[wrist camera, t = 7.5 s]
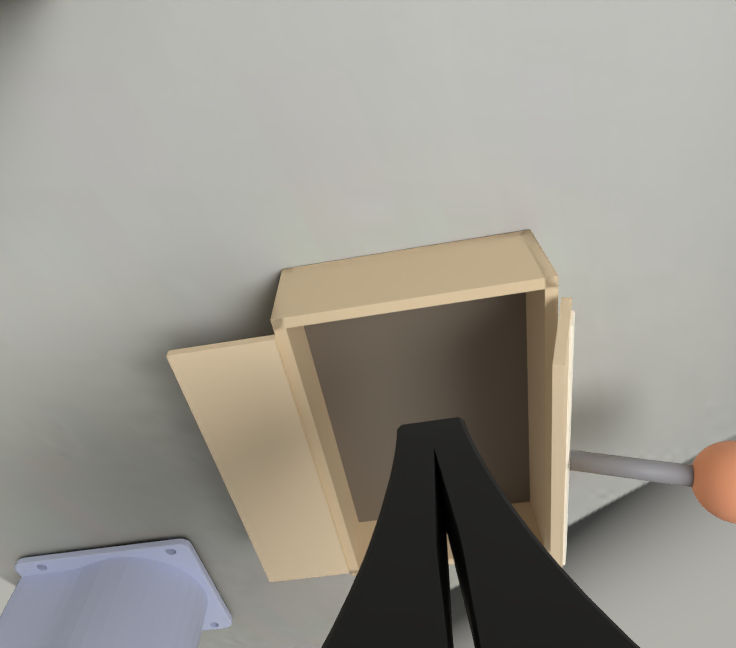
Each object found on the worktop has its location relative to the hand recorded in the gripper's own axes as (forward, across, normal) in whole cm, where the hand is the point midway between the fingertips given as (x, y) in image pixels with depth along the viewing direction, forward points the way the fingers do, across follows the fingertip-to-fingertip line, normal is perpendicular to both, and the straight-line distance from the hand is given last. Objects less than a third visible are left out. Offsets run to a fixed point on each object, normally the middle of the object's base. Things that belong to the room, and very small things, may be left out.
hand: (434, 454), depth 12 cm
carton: (+10, +2, +7) cm, 12 cm away
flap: (+5, -4, +7) cm, 10 cm away
